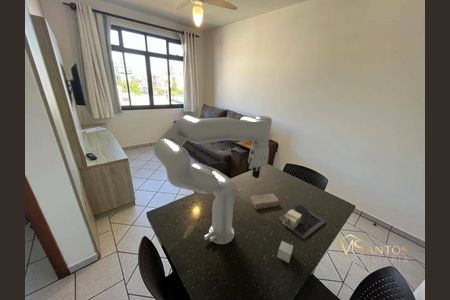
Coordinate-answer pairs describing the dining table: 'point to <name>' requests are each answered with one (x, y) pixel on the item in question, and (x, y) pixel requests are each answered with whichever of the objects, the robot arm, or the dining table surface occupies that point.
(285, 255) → the sage block
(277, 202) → the brick
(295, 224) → the maple block
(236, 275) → the dining table surface
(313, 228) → the picture frame
